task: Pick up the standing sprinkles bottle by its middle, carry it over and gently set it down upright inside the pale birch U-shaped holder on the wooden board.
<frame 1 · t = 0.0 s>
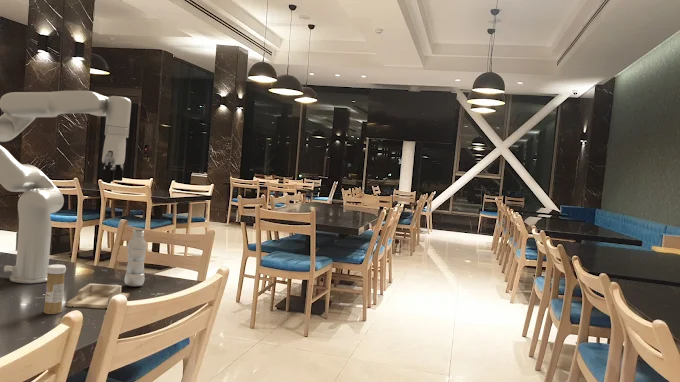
hand: (112, 180, 167), 37 cm above the table, tool pointing down, fingers open, 9 cm apart
plastic bottle: (133, 286, 170), on the table
holder: (99, 301, 150), on the table
sprinkles bottle: (52, 312, 136), on the table
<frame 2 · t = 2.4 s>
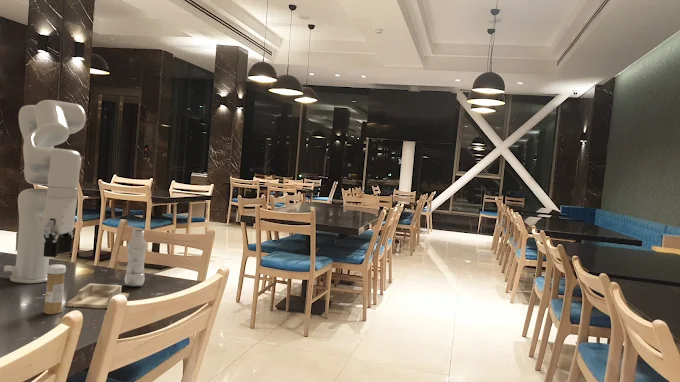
hand: (58, 253, 135), 17 cm above the table, tool pointing down, fingers open, 9 cm apart
nothing on the table moved.
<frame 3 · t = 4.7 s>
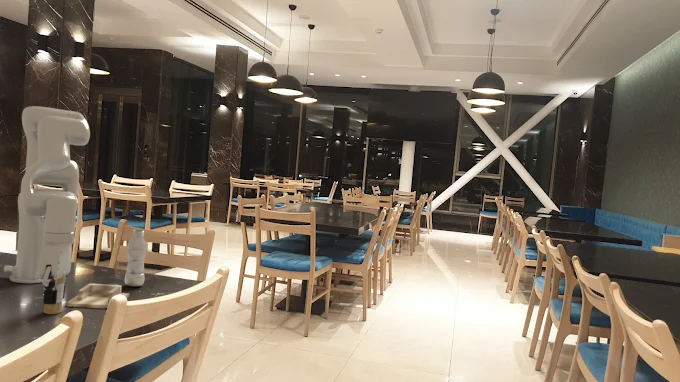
hand: (53, 300, 136), 3 cm above the table, tool pointing down, fingers closed on sprinkles bottle, 4 cm apart
sprinkles bottle: (52, 312, 136), on the table, touching gripper
everything else where it was.
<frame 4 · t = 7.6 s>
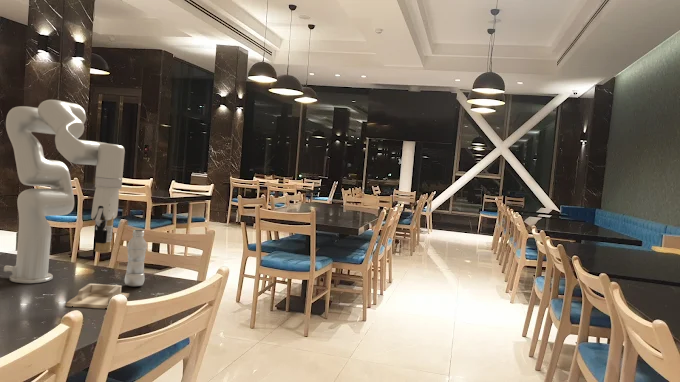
hand: (103, 240, 149), 19 cm above the table, tool pointing down, fingers closed on sprinkles bottle, 4 cm apart
sprinkles bottle: (102, 252, 149), point 16 cm above the table, touching gripper
everything else where it was.
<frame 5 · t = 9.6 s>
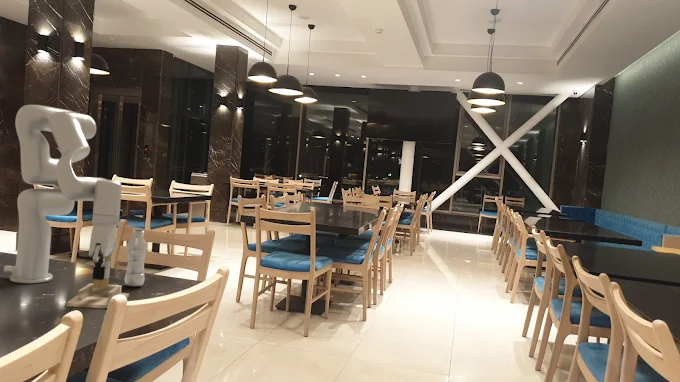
hand: (101, 276, 149), 8 cm above the table, tool pointing down, fingers closed on sprinkles bottle, 4 cm apart
sprinkles bottle: (100, 287, 150), point 4 cm above the table, touching gripper
everything else where it was.
when the fingers open (5 cm above the table, at t = 10.9 s): sprinkles bottle stays where it is, resting on holder.
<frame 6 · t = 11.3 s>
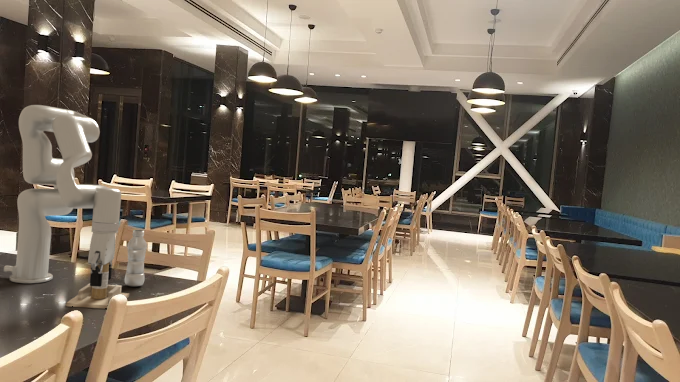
hand: (100, 282, 150), 6 cm above the table, tool pointing down, fingers open, 8 cm apart
sprinkles bottle: (99, 298, 150), point 1 cm above the table, touching holder
everything else where it was.
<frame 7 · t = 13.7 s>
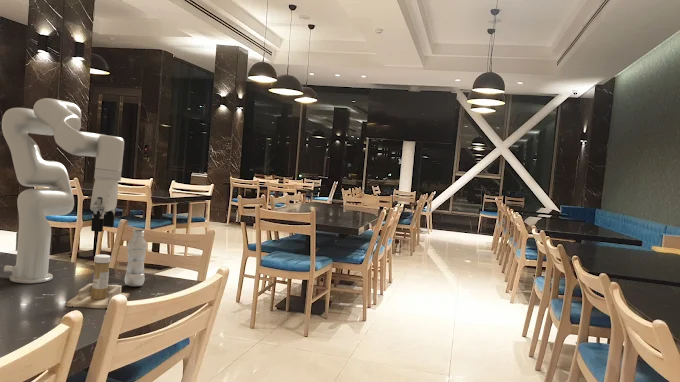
hand: (102, 228, 150), 23 cm above the table, tool pointing down, fingers open, 9 cm apart
nothing on the table moved.
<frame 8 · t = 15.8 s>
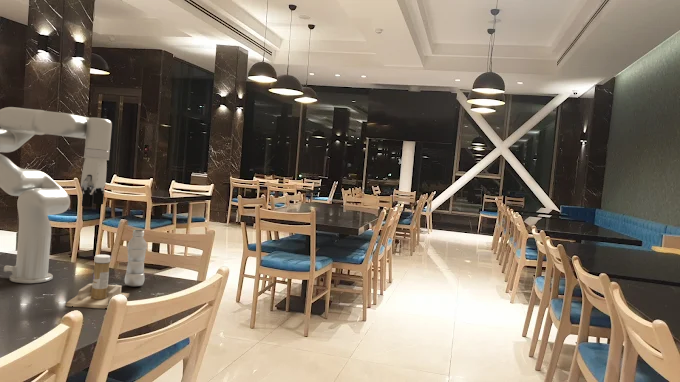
hand: (92, 205, 161), 28 cm above the table, tool pointing down, fingers open, 9 cm apart
nothing on the table moved.
at the end: sprinkles bottle 0.1 cm off-centre on the holder, point 0.8 cm above the holder's base; sprinkles bottle tilted 0°; the gripper is holding nothing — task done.
